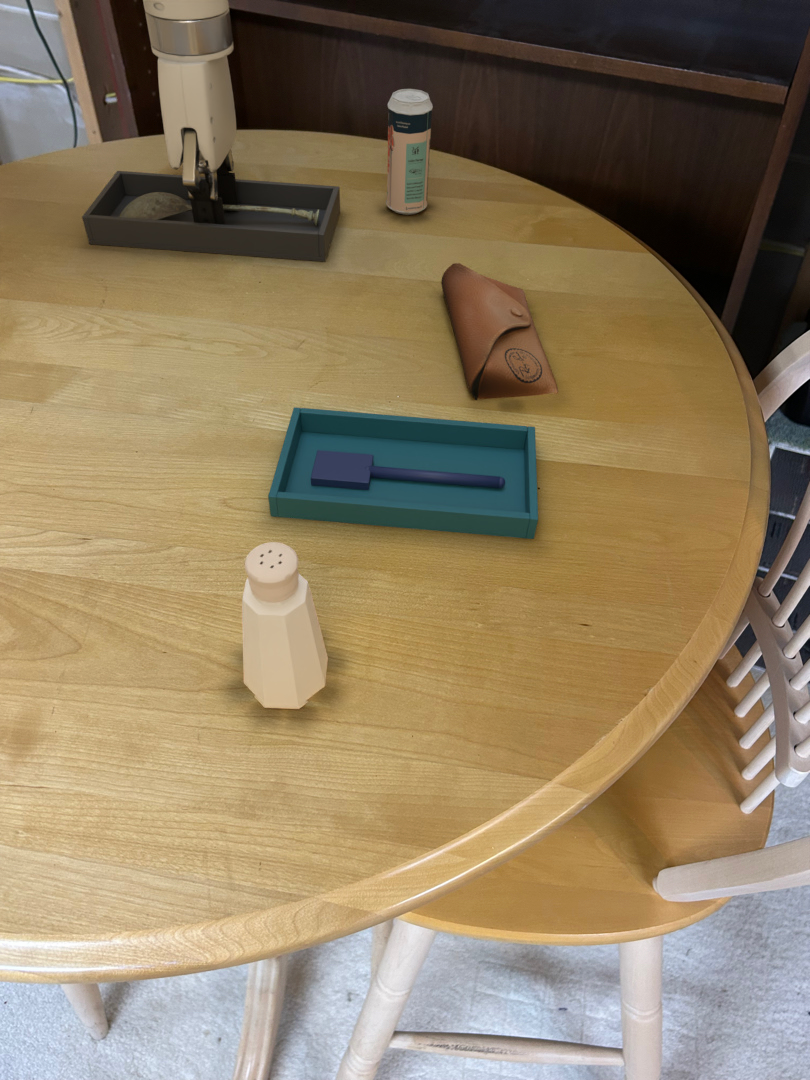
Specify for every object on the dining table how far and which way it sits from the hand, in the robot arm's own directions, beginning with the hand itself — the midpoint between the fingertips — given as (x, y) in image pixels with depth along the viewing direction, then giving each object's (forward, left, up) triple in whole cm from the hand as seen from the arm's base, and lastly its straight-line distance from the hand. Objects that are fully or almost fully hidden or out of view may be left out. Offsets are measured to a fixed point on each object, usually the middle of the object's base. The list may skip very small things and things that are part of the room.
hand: (217, 219), depth 88 cm
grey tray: (0, 0, -1) cm, 1 cm away
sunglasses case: (+31, -18, -1) cm, 36 cm away
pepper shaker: (+18, -56, -1) cm, 59 cm away
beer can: (+20, +8, -1) cm, 22 cm away
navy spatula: (+24, -38, 0) cm, 45 cm away
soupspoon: (0, 0, -1) cm, 1 cm away
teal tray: (+24, -38, -1) cm, 45 cm away
